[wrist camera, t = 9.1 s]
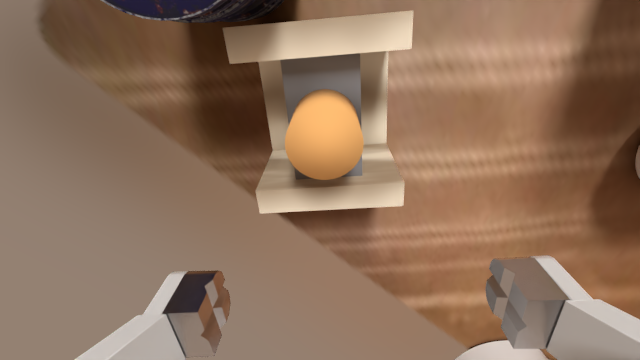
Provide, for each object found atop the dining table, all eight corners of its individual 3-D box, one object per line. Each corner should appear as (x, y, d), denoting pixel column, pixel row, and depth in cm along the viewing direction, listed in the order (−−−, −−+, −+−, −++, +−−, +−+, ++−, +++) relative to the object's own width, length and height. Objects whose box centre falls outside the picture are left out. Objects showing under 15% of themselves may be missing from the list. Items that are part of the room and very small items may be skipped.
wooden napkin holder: (382, 154, 32) (403, 205, 23) (278, 161, 33) (259, 213, 24) (384, 13, 26) (413, 10, 17) (257, 24, 27) (222, 28, 18)
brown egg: (356, 86, 21) (362, 102, 17) (358, 149, 23) (364, 177, 19) (288, 91, 21) (279, 109, 17) (296, 153, 23) (290, 182, 19)
